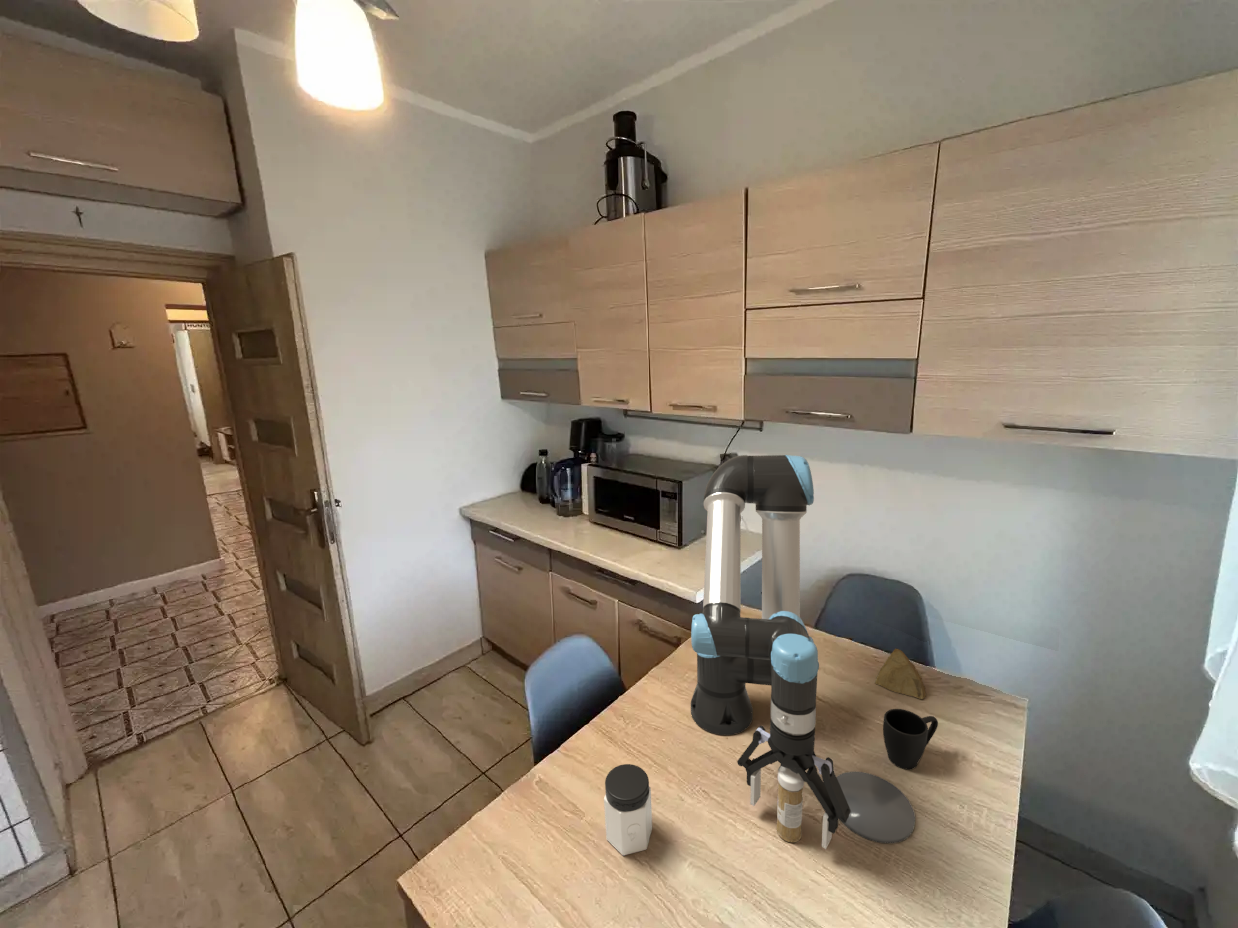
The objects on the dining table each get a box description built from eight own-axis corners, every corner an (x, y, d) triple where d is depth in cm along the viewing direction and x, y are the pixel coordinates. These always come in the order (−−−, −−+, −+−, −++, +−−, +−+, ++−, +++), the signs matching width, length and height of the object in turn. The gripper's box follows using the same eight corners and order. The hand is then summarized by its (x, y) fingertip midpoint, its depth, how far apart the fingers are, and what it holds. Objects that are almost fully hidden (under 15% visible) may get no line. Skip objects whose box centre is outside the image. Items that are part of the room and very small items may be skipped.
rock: (939, 689, 127) (908, 661, 136) (928, 671, 124) (897, 645, 133) (906, 716, 127) (877, 687, 136) (895, 700, 124) (865, 671, 133)
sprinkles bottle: (775, 819, 97) (776, 760, 94) (800, 823, 96) (802, 763, 93) (777, 841, 93) (778, 780, 90) (803, 845, 92) (805, 784, 89)
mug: (949, 766, 107) (953, 728, 105) (899, 778, 105) (902, 739, 103) (919, 738, 115) (923, 702, 113) (872, 748, 113) (875, 711, 111)
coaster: (817, 811, 98) (817, 807, 98) (843, 763, 109) (843, 759, 109) (903, 859, 88) (903, 855, 88) (922, 801, 99) (923, 797, 99)
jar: (611, 860, 91) (607, 805, 88) (602, 820, 99) (598, 769, 96) (658, 848, 93) (656, 793, 90) (646, 809, 100) (644, 758, 98)
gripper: (719, 703, 95) (719, 797, 99) (860, 770, 78) (853, 879, 83) (738, 683, 100) (738, 773, 105) (875, 742, 84) (867, 845, 88)
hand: (789, 820), depth 94 cm, fingers open, 13 cm apart
